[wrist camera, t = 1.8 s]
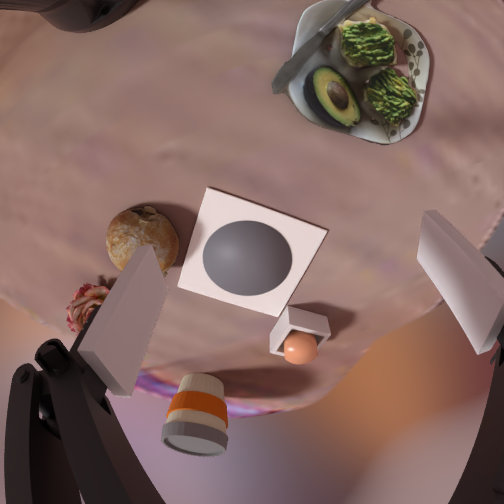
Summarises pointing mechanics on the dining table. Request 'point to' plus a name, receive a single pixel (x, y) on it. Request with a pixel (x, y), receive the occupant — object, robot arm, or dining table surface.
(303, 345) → the button
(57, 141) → the dining table surface
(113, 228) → the bread roll
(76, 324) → the flower
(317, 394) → the dining table surface
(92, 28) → the robot arm
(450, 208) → the dining table surface
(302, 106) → the salad plate
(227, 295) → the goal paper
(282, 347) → the button housing
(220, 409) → the reusable coffee cup
